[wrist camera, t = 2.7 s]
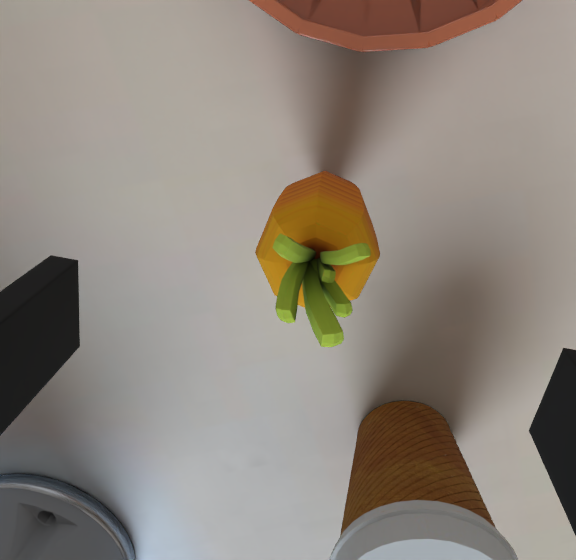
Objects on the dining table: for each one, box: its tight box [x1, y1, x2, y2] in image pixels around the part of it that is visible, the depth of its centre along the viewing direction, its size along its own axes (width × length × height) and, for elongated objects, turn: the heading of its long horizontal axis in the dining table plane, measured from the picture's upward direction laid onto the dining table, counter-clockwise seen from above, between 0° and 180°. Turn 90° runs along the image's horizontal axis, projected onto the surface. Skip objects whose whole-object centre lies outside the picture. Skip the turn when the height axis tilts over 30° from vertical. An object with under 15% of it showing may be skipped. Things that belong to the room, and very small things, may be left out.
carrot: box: [255, 171, 380, 347], centre depth 24 cm, size 5×5×15 cm
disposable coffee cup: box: [330, 401, 518, 560], centre depth 32 cm, size 10×10×12 cm
